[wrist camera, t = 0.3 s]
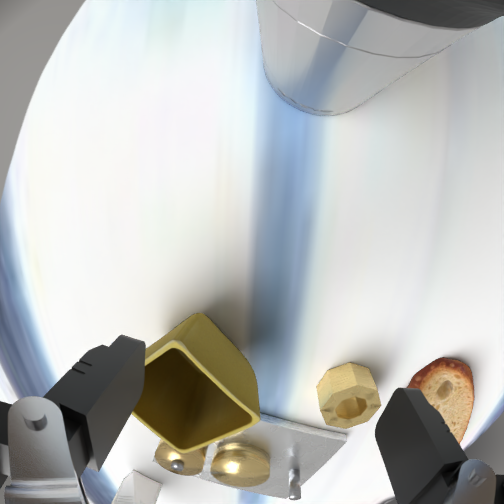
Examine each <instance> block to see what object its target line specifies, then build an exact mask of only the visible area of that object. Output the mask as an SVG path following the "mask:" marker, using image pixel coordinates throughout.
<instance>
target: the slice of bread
mask: <svg viewBox="0 0 504 504" xmlns="http://www.w3.org/2000/svg"><path fill="white" fill-rule="evenodd" d="M407 388H417V389H420V390H421V391H422V393H423V394H424V396H425V397H426V399H427V401H428V402H429V403H430V404H431V405H432V406H433V407H434V408H435V409H436V410H438V411H439V412H440V414H441V415H442V417H443V419H444V420H445V424H447V425H448V427H449V428H450V432H452V433H453V435H454V436H455V438H456V440H457V441H458V443H459V445H460V442H461V440H462V439H463V436H464V434H465V431H466V429H467V425H468V423H469V419H470V416H471V413H472V409H473V401H474V385H473V376H472V372H471V370H470V368H469V367H468V366H467V365H466V364H464V363H463V362H461V361H458V360H454V359H447V358H444V357H442V358H438V359H436V360H435V361H433V362H432V363H430V364H429V365H427V366H426V367H424V368H423V369H421V370H420V371H418V372H417V373H416V374H415V375H414V376H413V377H412V379H411V382H410V384H409V386H408V387H407Z"/></svg>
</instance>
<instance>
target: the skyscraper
mask: <svg viewBox="0 0 504 504" xmlns="http://www.w3.org/2000/svg"><path fill="white" fill-rule="evenodd" d="M161 487H162V484H161V483H158V482H156V481H154V480H152V479H150V478H148V477H146V476H144V475H142V474H140V473H138V472H136V471H135V470H133V472H132V473H131V474H130V475H128V476H127V477H126V478H124V479H123V481H122V483H121V485H120V487H119V489H118V491H117V493H116V495H115V497H114V499H113V501H112V504H156V501H157V498H158V495H159V492H160V490H161Z"/></svg>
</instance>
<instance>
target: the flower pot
mask: <svg viewBox="0 0 504 504" xmlns="http://www.w3.org/2000/svg"><path fill="white" fill-rule="evenodd" d="M131 414H132V415H133V416H134V417H136V418H137V419H138V420H139V421H140V422H141V423H143V424H144V425H145V426H146V427H147V428H149V429H150V430H151V431H152V432H153V433H155V434H156V435H157V436H158V437H160V438H161V439H162V440H163V441H165V442H166V443H167V444H168V445H170V446H171V447H173V448H174V449H176V450H177V451H179V452H181V453H188V452H191V451H194V450H197V449H199V448H201V447H204V446H207V445H209V444H211V443H214V442H216V441H219V440H221V439H224V438H226V437H229V436H231V435H234V434H236V433H238V432H241V431H243V430H245V429H248V428H250V427H252V426H254V425H255V424H257V423H258V422H259V421H260V420H261V418H260V408H259V397H258V387H257V380H256V376H255V373H254V371H253V369H252V367H251V365H250V364H249V362H248V361H247V359H246V358H245V357H244V355H243V354H242V353H241V352H240V351H239V350H238V349H237V348H236V347H235V346H234V345H233V344H232V342H231V341H230V340H229V339H228V338H227V337H226V336H225V335H224V334H223V333H222V332H221V331H220V330H219V329H218V328H217V326H216V325H215V324H214V323H213V322H212V321H211V320H210V319H209V318H208V317H207V316H206V315H204V314H203V313H196V314H193V315H192V316H190V317H189V318H187V319H186V320H185V321H183V322H182V323H181V324H180V325H178V326H177V327H176V328H174V329H173V330H172V331H170V332H169V333H167V334H166V335H165V336H163V337H162V338H161V339H159V340H158V341H156V342H155V343H154V344H152V345H151V346H149V347H148V348H146V351H145V374H144V387H143V391H142V394H141V397H140V399H139V401H138V403H137V404H136V406H135V408H134V410H133V411H132V413H131Z"/></svg>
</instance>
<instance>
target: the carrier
mask: <svg viewBox="0 0 504 504" xmlns="http://www.w3.org/2000/svg"><path fill="white" fill-rule="evenodd" d="M260 418H261V420H260V421H259V422H258V423H257V424H255V425H254V426H252V427H250V428H248V429H245V430H243V431H241V432H238V433H236V434H234V435H231V436H229V437H226V438H224V439H221V440H219V441H216V442H214V443H211V444H209V445H207V446H204V447H201V448H199V449H197V450H194V451H191V452H188V453H181V452H179V451H177V450H176V449H174V448H173V447H171V446H170V445H168V444H167V443H166V442H165V441H163V440H162V439H161V440H160V442H159V445H158V447H157V450H156V452H155V456H154V459H153V461H154V462H156V463H159V464H160V465H161V466H162V467H163V468H165V469H167V470H168V471H171V472H173V473H176V474H180V475H188V476H190V475H192V476H195V477H198V478H201V479H204V480H207V481H211V482H214V483H218V484H221V485H225V486H229V487H232V488H236V489H240V490H245V491H249V492H254V493H258V494H263V495H268V496H273V497H279V498H285V499H286V498H287V497H289V499H290V500H298V499H300V498H301V487H300V486H301V485H302V484H304V483H305V482H306V481H307V480H308V479H309V478H310V477H311V476H312V475H314V474H315V473H316V472H317V471H318V470H319V469H320V468H321V467H322V466H323V465H324V464H325V463H326V462H327V461H328V460H329V459H330V458H331V457H332V456H333V455H334V454H335V453H336V452H337V451H338V450H339V449H340V448H341V447H342V446H343V445H344V444H345V443H346V442H347V439H346V434H342V433H337V432H332V431H328V430H323V429H319V428H314V427H310V426H306V425H302V424H298V423H294V422H291V421H287V420H283V419H280V418H276V417H273V416H269V415H266V414H262V413H260Z"/></svg>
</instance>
